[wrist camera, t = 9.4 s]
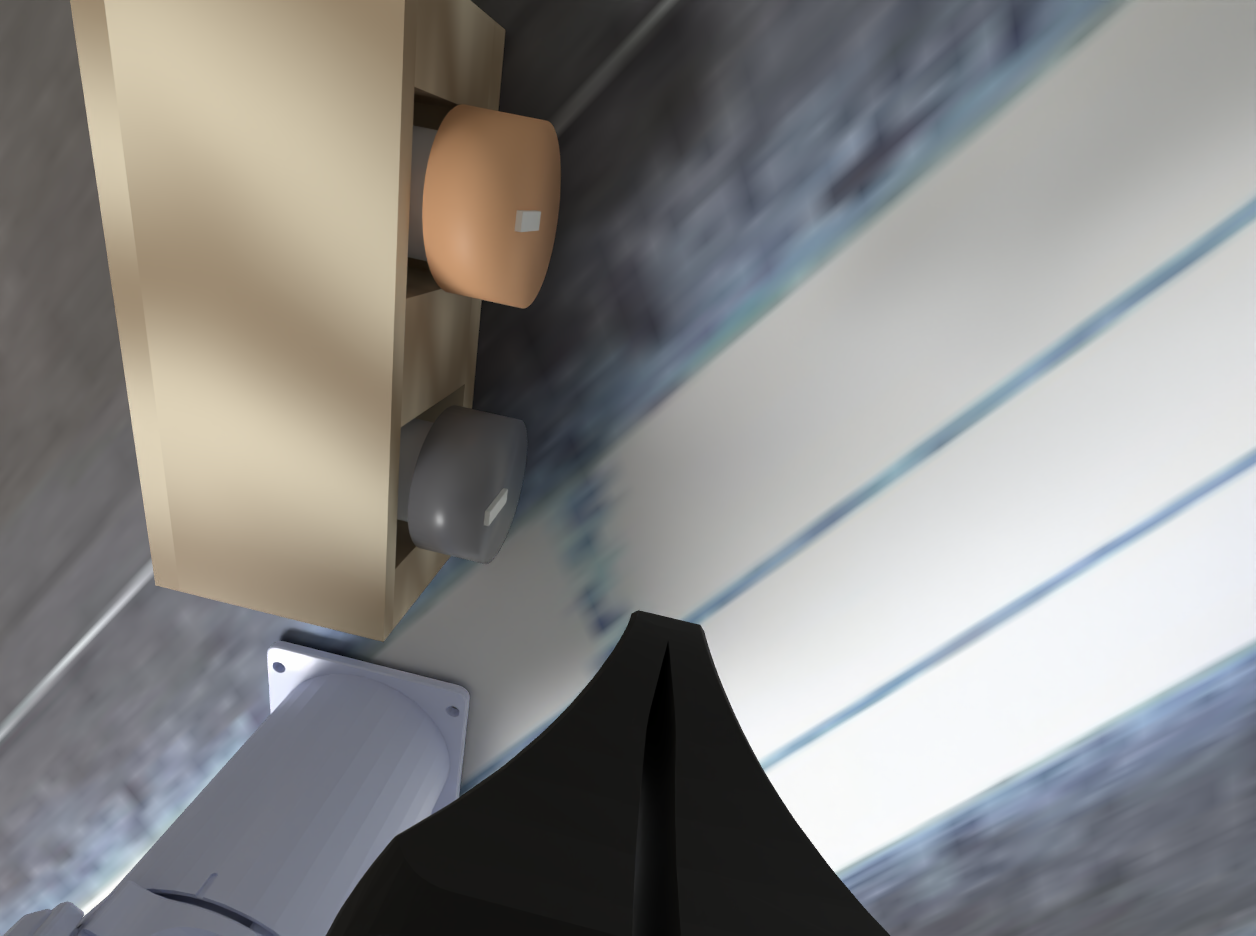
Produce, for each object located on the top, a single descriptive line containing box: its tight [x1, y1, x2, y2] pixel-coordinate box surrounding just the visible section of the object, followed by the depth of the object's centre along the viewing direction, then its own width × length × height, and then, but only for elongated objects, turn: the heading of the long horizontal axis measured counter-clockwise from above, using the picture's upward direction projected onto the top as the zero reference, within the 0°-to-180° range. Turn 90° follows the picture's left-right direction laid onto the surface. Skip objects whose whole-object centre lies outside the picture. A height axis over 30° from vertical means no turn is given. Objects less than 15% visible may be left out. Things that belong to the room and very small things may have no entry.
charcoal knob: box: [397, 405, 527, 564], centre depth 17 cm, size 7×4×4 cm, turn 79°
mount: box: [70, 0, 506, 642], centre depth 16 cm, size 15×6×5 cm, turn 169°
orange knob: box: [408, 104, 561, 309], centre depth 14 cm, size 7×4×4 cm, turn 79°
